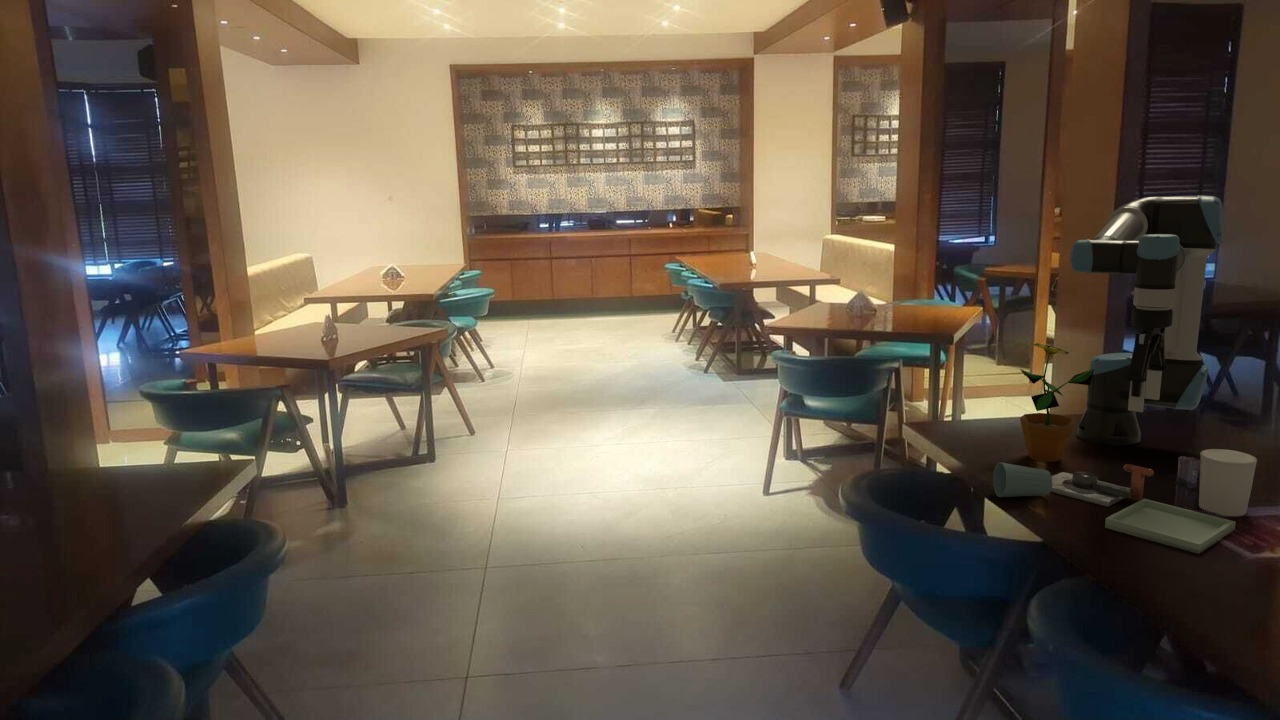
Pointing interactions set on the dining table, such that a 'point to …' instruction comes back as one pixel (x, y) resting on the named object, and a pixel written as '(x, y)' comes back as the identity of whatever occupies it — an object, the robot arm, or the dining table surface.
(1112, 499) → the crank plate
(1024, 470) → the cup
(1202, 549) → the tray
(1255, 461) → the candle holder
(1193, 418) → the dining table surface
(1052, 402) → the potted plant
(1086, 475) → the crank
